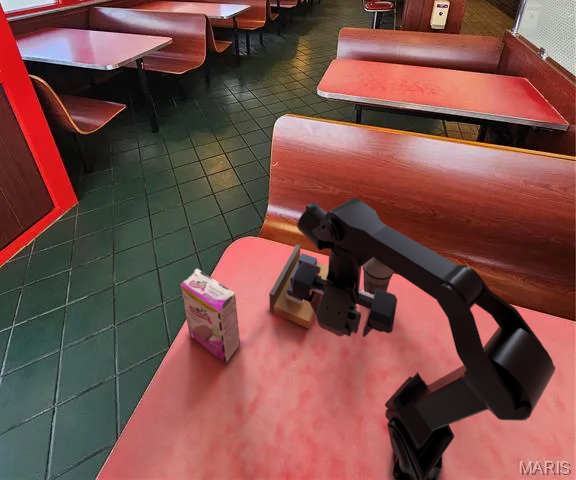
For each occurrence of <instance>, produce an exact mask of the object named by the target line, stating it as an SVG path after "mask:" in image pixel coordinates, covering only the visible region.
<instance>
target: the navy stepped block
mask: <svg viewBox="0 0 576 480" xmlns="http://www.w3.org/2000/svg"><path fill="white" fill-rule="evenodd" d="M302 262H308V263H310V264H313V265H316V264H317V262H318V258H317V257H314V256H311V255H309V254H306V253H303V252H301V253H300V258H299V260H298V264H297V266H296V268H295V270H294V272H293V274H292V275H291V277H290V285H289V287H288V289H287V294H286V299H289V300H291V301H293V302H296V303H298V304H300V305H303V304H304V302H305V300H303V299H301V298H299V297H298V296H297V295H295V294H293V293H292V291H291V283H292V279H293V277H294V275H295V273H296V271H297V269H298V267H299V265H300V263H302Z"/></svg>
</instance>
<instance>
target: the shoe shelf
mask: <svg viewBox="0 0 576 480" xmlns="http://www.w3.org/2000/svg"><path fill="white" fill-rule="evenodd" d="M300 256H301V245H299V244H295V246H294V248H293V250H292V252H291V254H290V255H289V257H288V258H287V260H286V262H285V264H284V266H283V268H282V270H281V272H280V273H279V275H278V277H277V279H276V281H275V282H274V284H273V286H272V288H271V289H270V291H269V293H268V298H269V312H270V313H273V314H275V315H278V317H282V318H283V319H286V320H288V321H291V322H293V323H295V324H297V325H298V326H299V325H300V326H302V327H303V328H306V329H308V330H309V329H310V327H311V325H312V322H313V319H314V317H315V313H314V311H313V309H312V307H311V305H310V303H309V302H308V301H306V300H305V302H304V304H303V305H300V304H298V303H296V302H293V301H291V300H289V299H286V294H287V289H288V287H289V285H290V277H291V275H292V274H293V272H294V270H295V268H296V266H297V264H298V260H299V258H300ZM316 266H319V267H321V269H320V273H319V274H318V275H319V276H321V277H322V278H321V279H324V280H326V279H327V275H328V266H329V264H324V263H322V262H319V261H317V264H316ZM321 297H322V294H321Z"/></svg>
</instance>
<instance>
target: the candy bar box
mask: <svg viewBox="0 0 576 480" xmlns="http://www.w3.org/2000/svg"><path fill="white" fill-rule="evenodd" d="M179 286H180V291H181V296H182V301H183V307H184V311H185V312H184V313H185V318H186V322H187V327H188V334H189V337H191V338H193V340H195V341H196V342H197V343H199V344H200V345H201V346H203V347H204V348H205V350H207V351H209V352H210V353H211V354H213V355H214V356H215V357H216V358H218V359H219V360H220V361H221V362H223V363H224V364H226V365H227V363H228V362H229V361H230V359H231V358H232V356H233V355H234V354H235V352H236V351H237V350H238V348H239V347H240V345H241V341H240V340H241V339H240V331H239V320H238V319H239V317H238V309H237V300H236V299H237V298H236V293H235V292H234V291H232V290H231V289H229V288H228V287H226V286H225V285H223V284H222V283H221V282H218V281H217V280H216V279H214V278H212V277H211V276H210V275H208V274H207V273H205V272H203V271H202V270H200V269H199V268H195V270H193V272H192V273H191V274H190V275H188V276H187V277H186V279H184V280H183V281H182V282H181V283H180V284H179Z"/></svg>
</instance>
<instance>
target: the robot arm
mask: <svg viewBox="0 0 576 480" xmlns="http://www.w3.org/2000/svg"><path fill="white" fill-rule="evenodd" d="M296 226H297V229H298V231H299V232H300V233H301V234H302V235H303V236H304V237H305V238H306V239H307V240H308V241H309V242H310V243H311V244H312V245H313V246H314V247H315V248H316V249H317V250H319V251H322V250H328V275H327V279H326V280H324V279H321V278H322V277H321V276H319V275H318V274H319V273H320V269H321V267H319V266H316V265H313V264H310V263H308V262H302V263H300V265H299V267H298V269H297V271H296V273H295V275H294V277H293V279H292V283H291V291H292V293H293V294H295V295H297V296H298V297H299V298H301V299H303V300H306V301H308V302H309V303H310V305H311V307H312V309H313V311H314V313H315V314H314V316H316V321H317V324H318V327H319V328H320V329H322V330H324V331H327V332H329V333H331V334H334V335H335V336H338V337H343V336H347V337H350V338H351V336H352V333H353V334H355V335H357V334H358V331H359V327H360V323H361V319H362V313H361V311H358V310H357V309H358V306H361V307H362V308H366V309H368V313H367V316H366V319H365V322H364V327H363V331H362V337H363V338H366V336H367V335H369V333H370V332H371V331H372V330H375V331H377V332H379V333H383V332H384V333H386V334H391V333H393V329H394V324H395V323H394V322H395V317H396V310H397V304H398V298H397V296H396V295H395V294H394V293H391V292H389V291H387V292H386V291H383V290H381V289H378V288H376V289H375V294H374V295H372V294H370V293H367V292H364V290H363V289H360V285H361V276H362V275H361V274H362V266H363V265H364V264H365V263H367V262H368V261H369V260H371V259H372V258H375V259H377V260H378V261H380V262H381V263H383V264H384V265H386V266H387V267H389V268H390V269H392V270H393V271H394V273H396V274H398V275H399V276H400V277H402V278H403V279H404V280H406V281H407V282H409V283H411V284H412V285H413V286H416V287H417V288H419V289H420V290H421V291H422V292H424V293H426V294H427V295H428V296H430V297H431V298H433V299H435V300H436V302H437V303H438V305H439V307H440V308H441V310H442V311H443V313H444V315H445V316H446V317H447V320H448V324H449V328H450V332H451V334H452V340H453V344H454V347H455V351H456V354H457V356H458V358H459V359H460V361H461V363H462V364H463V365H461V366H459V367H458V368H456V369H454V370H453V371H451V372H449V373H447V374H445V375H443V376H442V377H440V378H439V379H436V380H435V381H433V382H432V383H429V384H428V383H427V381H425V379H423V378H422V377H421V375H420V373H419V372H418V371H417V372H416V373H415V374H414V375H413V376H408V377H407V378H406V380H404V382H402V384H401V385H400V386H399V388H397V390H396V391H395V392H393V394H392V395H391V396H390V398H388V400H386V402H385V403H384V407H386V410H385V412H384V415H385V416H384V417H385V418H386V420H387V421H388V422H387V423H386V425H387V432H388V437H389V440H390V446H391V449H392V452H391V459H392V461H393V468H392V469H393V470H392V477H393V479H394V480H439V479H440V475H441V472H442V469H443V455H444V453H445V452H446V451H447V448H448V447H449V446H450V444H451V443H452V441H453V440H454V439H455V434H454V432H453V430H452V428H451V426H450V425H452V424H454V423H456V422H459V421H462V420H464V419H467V418H470V417H472V416H475V415H478V414H480V413H483V412H485V411H489V412H490V413H491V414H492V415H493V416H495V417H496V418H497V419H498V420H500V421H517V422H518V421H527V420H528V419H529V418H531V415H532V414H533V412H534V410H535V409H536V407H537V405H538V403H539V401H540V399H541V397H542V396H543V394H544V392H545V390H546V388H547V386H548V385H549V383H550V381H551V379H552V378H553V376H554V375H555V371H556V366H555V365H554V361H553V359H552V357H551V356H550V353H549V352H548V350H547V348H545V347H544V345H543V343H542V342H541V341H540V339H539V338H538V336H537V335H536V334H535V332H534V331H533V330H532V328H531V327H530V326H529V324H528V323H527V321H526V320H525V319H524V317H523V316H522V315H521V313H520V311H518V309H517V308H515V306H513V305H512V304H510V303H509V302H507V301H506V300H505V299H503V298H502V297H500V296H499V295H497V294H496V293H495V292H493V291H492V290H491V289H490V288H489V286H488V285H487V284H486V282H485V281H484V279H483V277H481V275H480V274H479V273H478V272H477V271H476V270H475V269H473V268H472V267H470V266H468V265H466V264H457V263H456V262H453V261H452V260H450V259H448V258H446V257H444V256H442V255H440V254H439V253H438V252H436V251H434V250H432V249H430V248H428V247H426V246H424V245H423V244H421V243H419V242H417V241H416V240H414V239H412V238H410V237H409V236H407V235H405V234H403V233H401V232H399V231H397V230H396V229H394V228H392V227H390V226H388V225H387V224H385V223H384V222H382V220H381V218H380V216H379V214H378V213H377V211H376V210H375V209H373V208H372V207H371V206H369V205H368V204H367V203H365V202H364V201H363V200H362V199H359V198H356V197H353V198H349V200H347V201H345V202H343V203H342V204H339V205H337V206H336V207H334V208H332V209H330V210H329V211H327V212H326V211H325V210H324V209H322V208H321V207H320V206H319V205H318V203H316V202H315V201H313V202H311V203H309V204H307V205H306V206H305V211H303V212H302V214H301V216H300V217H299V219H298V221H297V223H296ZM321 294H322V297H321ZM357 305H358V306H357ZM475 305H476V306H478V307H479V308H480V309H482V310H483V311H485V312H486V313H487V314H489V315H490V316H491V317H492V319H493V320H494V322H495V323H496V324H497V326H498V327H497V328H496V330H495V331H494V333H493V334H492V335H491V337H490V338H489V339H488V341H487V342H486V343H485V344H484V346H483V341H482V339H481V335H480V332H479V329H478V326H477V323H476V322H477V321H476V319H475V316H474V313H473V312H472V308H473V307H474V306H475ZM396 475H397V476H396Z"/></svg>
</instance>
